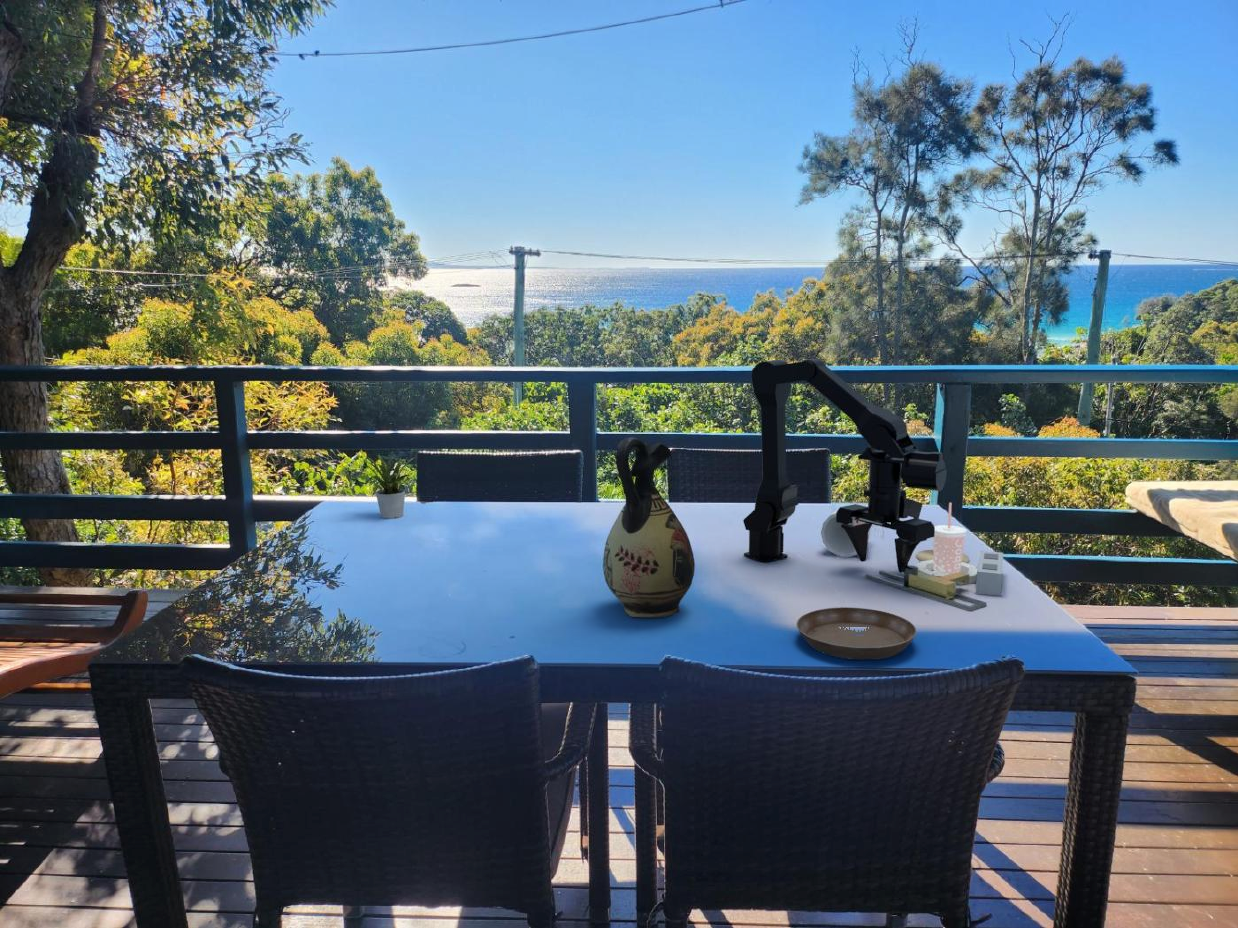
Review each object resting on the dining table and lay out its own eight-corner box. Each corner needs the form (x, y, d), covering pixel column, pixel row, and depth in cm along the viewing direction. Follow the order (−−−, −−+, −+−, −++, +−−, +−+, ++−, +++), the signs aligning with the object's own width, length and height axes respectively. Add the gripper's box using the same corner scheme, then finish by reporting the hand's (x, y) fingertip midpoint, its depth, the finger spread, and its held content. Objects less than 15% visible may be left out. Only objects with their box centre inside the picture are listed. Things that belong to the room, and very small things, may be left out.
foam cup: (870, 546, 193) (861, 563, 182) (828, 533, 197) (816, 549, 185) (882, 505, 191) (873, 519, 179) (839, 492, 194) (827, 505, 182)
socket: (910, 586, 164) (911, 564, 163) (918, 564, 177) (919, 543, 176) (1000, 595, 158) (1001, 573, 157) (1001, 572, 171) (1003, 551, 170)
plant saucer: (774, 632, 143) (775, 614, 143) (868, 617, 149) (869, 599, 149) (839, 675, 127) (839, 654, 127) (941, 655, 133) (942, 636, 133)
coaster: (947, 568, 174) (947, 566, 174) (905, 556, 182) (905, 554, 182) (979, 559, 179) (979, 558, 179) (937, 548, 187) (937, 546, 187)
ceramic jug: (640, 589, 165) (639, 426, 159) (712, 606, 155) (712, 433, 149) (578, 615, 152) (574, 439, 146) (651, 636, 142) (650, 447, 136)
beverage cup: (942, 581, 166) (946, 507, 164) (922, 572, 172) (926, 500, 169) (970, 578, 168) (975, 505, 165) (950, 569, 174) (954, 498, 171)
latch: (946, 599, 156) (947, 580, 155) (900, 584, 164) (901, 566, 163) (975, 590, 160) (977, 572, 160) (929, 576, 168) (930, 559, 168)
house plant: (345, 521, 218) (340, 454, 215) (376, 508, 231) (372, 445, 228) (397, 524, 214) (393, 457, 211) (426, 511, 227) (422, 447, 224)
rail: (969, 611, 151) (970, 607, 151) (865, 577, 169) (865, 574, 169) (986, 605, 153) (986, 602, 153) (881, 573, 172) (881, 570, 172)
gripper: (956, 487, 162) (952, 570, 165) (874, 472, 178) (872, 548, 181) (915, 495, 156) (912, 582, 159) (834, 479, 172) (833, 558, 175)
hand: (882, 566), depth 169 cm, fingers open, 9 cm apart
